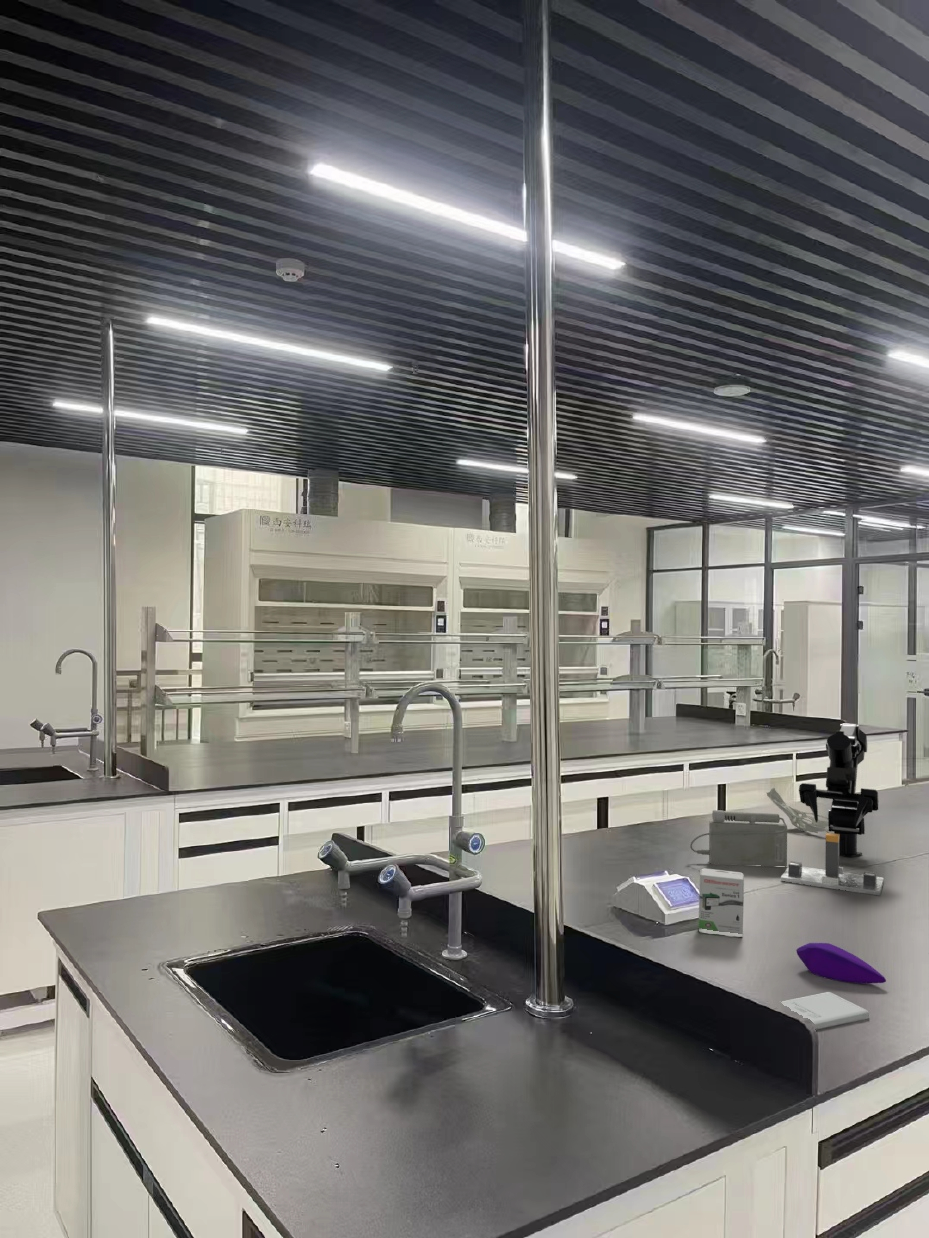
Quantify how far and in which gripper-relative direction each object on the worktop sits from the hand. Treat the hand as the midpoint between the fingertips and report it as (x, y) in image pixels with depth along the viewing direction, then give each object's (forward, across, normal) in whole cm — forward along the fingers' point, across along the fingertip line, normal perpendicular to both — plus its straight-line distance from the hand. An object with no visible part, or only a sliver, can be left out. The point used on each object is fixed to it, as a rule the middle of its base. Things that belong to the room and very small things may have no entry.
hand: (835, 823), depth 217 cm
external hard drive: (+75, +7, -55) cm, 93 cm away
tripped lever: (+13, 0, +3) cm, 14 cm away
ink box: (+52, -15, -33) cm, 64 cm away
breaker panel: (+14, 0, +4) cm, 15 cm away
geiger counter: (+11, -23, +8) cm, 27 cm away
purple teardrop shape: (+62, +8, -42) cm, 75 cm away
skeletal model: (-29, -14, +48) cm, 57 cm away
